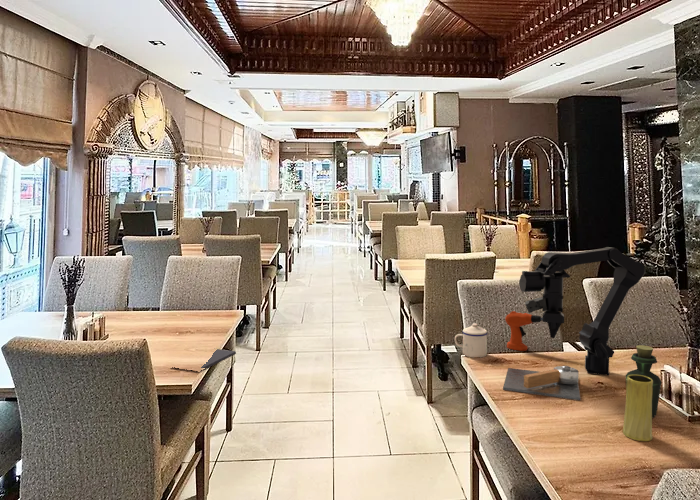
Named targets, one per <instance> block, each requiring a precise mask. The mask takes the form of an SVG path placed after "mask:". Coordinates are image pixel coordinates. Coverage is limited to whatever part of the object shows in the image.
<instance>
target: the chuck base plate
mask: <svg viewBox="0 0 700 500" xmlns="http://www.w3.org/2000/svg"><path fill="white" fill-rule="evenodd" d="M538 372H540V371H538V370H537V371H536V370H528V369H519V368H514V367H512V368H511V367H508V368H507V372H506V375H505V378H504V383H503V388H502V390H503V391H509V392H517V393H522V394H523V393H524V394H531V395H537V396H538V395H539V396H544V397H551V398H552V397H553V398H559V399H567V400H574V401H581V394H580V393H581V391H580V384H579V382H578V383H576V384H563V383H559V382H556V383H551V384H546V385H542V386H537V387H532V388H526V387H524V375H528V374H533V373H538Z"/></svg>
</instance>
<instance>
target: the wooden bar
mask: <svg viewBox="0 0 700 500" xmlns="http://www.w3.org/2000/svg"><path fill="white" fill-rule="evenodd" d="M556 382H559V383H563V384H576V383H578V384H579V370H578V369H577V368H574V367H571V366H570V365H559V366H555V367H553V369H549V370H548V369H547V370H544V371H543V370H542V371H539V372H538V373H533V374H528V375H524V387H526V388H532V387H537V386H542V385H546V384H551V383H556Z"/></svg>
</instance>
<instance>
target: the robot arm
mask: <svg viewBox="0 0 700 500" xmlns="http://www.w3.org/2000/svg"><path fill="white" fill-rule="evenodd" d="M605 261H607V263H608V264H609V265H610V266H612V267H613V268H614V271H613V283H612V285H611V287H610V289H609V290H608V293H607V295H606V297H605V298H604V300H603V302H602V304H601V306H600V308H599V310H598V312H597V314H596V316H595V318H594V320H593V321H592V322H590V323H589V324H588V323H587V322H585V323H583V325H582V327H581V330H580V331H579V332H578V334H579V337H578V339H579V342H580V344H581V345H582V347H583V348H584V350H585V351H587V353H586V354H587V355H585V356H584V369H585V371H586V373H587V374H593V375H601V376H609V377H610V375H611V373H610V358H613V356H614V354H615V350H613V348H611V347H610V346H609V344H608V342H609V340H610V339H609V338H610V327H611V325H612V323H613V321H614V319H615V317H616V315H617V314H618V311H619V309H620V308H621V306H622V305H623V302H624V300H625V299H626V296H627V294H628V292H629V290H631V288H633V287H634V286H636V285H637V284H638V283H639V282H640V281H641V279H643V277H644V275H645V274H646V268H645V266H644V263H642V262H640V261H636V260H634V259H633V258H631V257H630V256H628V255H626V254H624V252H623V253H622V252H621V251H620V250H619V249H618V248H616V247H609V246H606V247H603V248H597V249H595V248H594V249H590V250H583V251H582V250H581V251H575V252H559V251H558V252H555V251H548V252H546V253H544V255H543V256H542V258H541V260H540V263H539V264H538V265H537V267H536V268H535V269H534V270H533V271H530V270H529V271H528V270H522V271H521V275H520V278H519V280H518V281H519V282H518V284H519V288H520V291H521V292H522V293H528V292H529V293H532V292H533V293H534V292H542V290H543V293H542V296H541V297H537V298H533V299H530V300H526V301H525V303H524V304H525V309H526V310H527V312H528V313H527V314H530V313H533V312H535V311H539V310H542V311H543V312H542V318H543V320H542V323H547V326H548V330H549V334H550V338H551V339H555V338H556V337H557V333H558V331H559V330H560V328H561V325H562V324H565V314H564V313H563V312H564V304H563V302H564V294H563V293H564V279H565V278H571V275H570V274H568V272H567V271H566V270H569V269H571V268H572V267H574V266H579V265H586V264H592V263H593V264H594V263H599V262H605Z"/></svg>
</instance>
